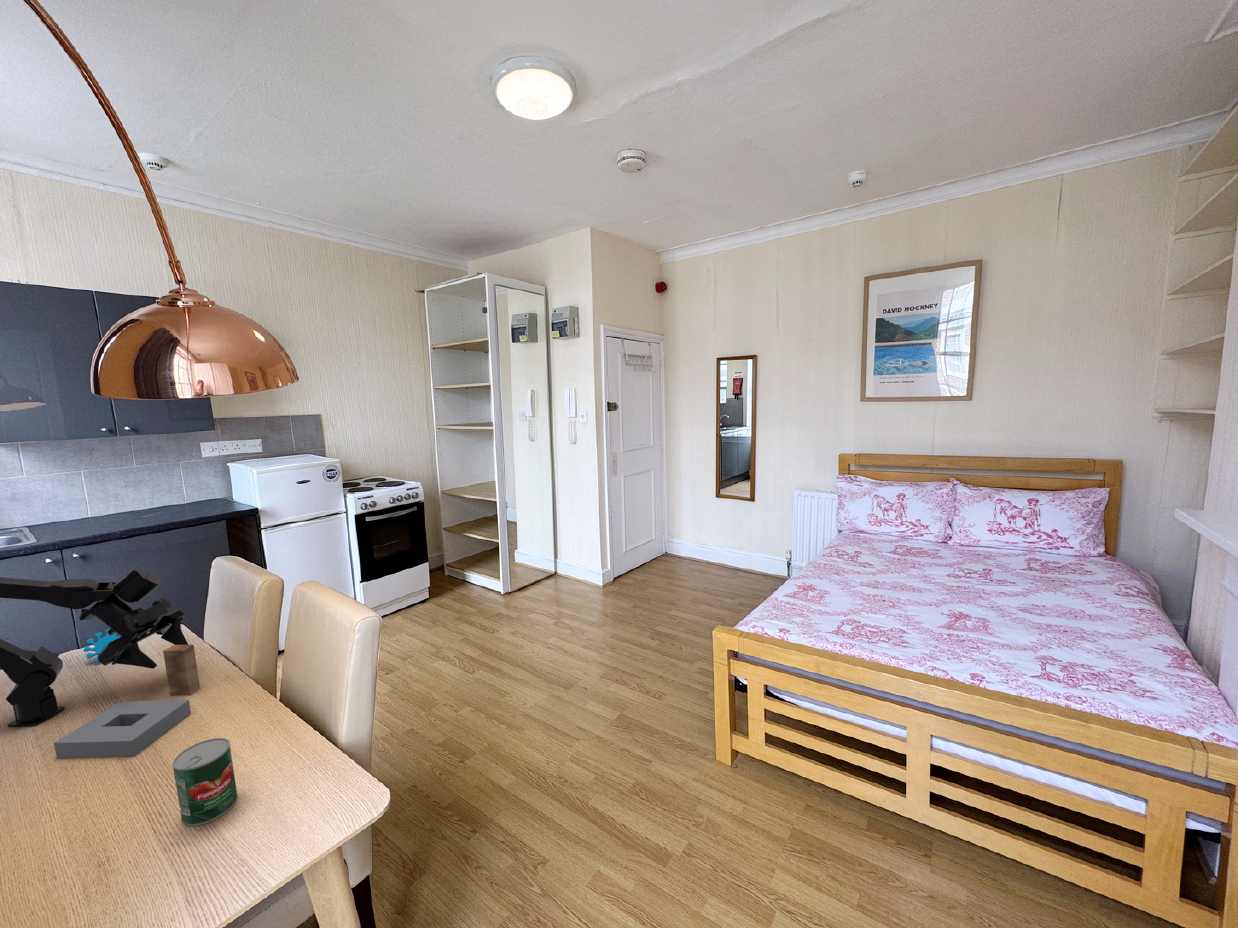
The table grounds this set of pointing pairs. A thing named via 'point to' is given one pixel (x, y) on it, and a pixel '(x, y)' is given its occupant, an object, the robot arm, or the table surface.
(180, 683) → the walnut peg
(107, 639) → the gear
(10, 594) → the robot arm
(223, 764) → the canned tomato
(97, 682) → the table surface
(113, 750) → the socket block
